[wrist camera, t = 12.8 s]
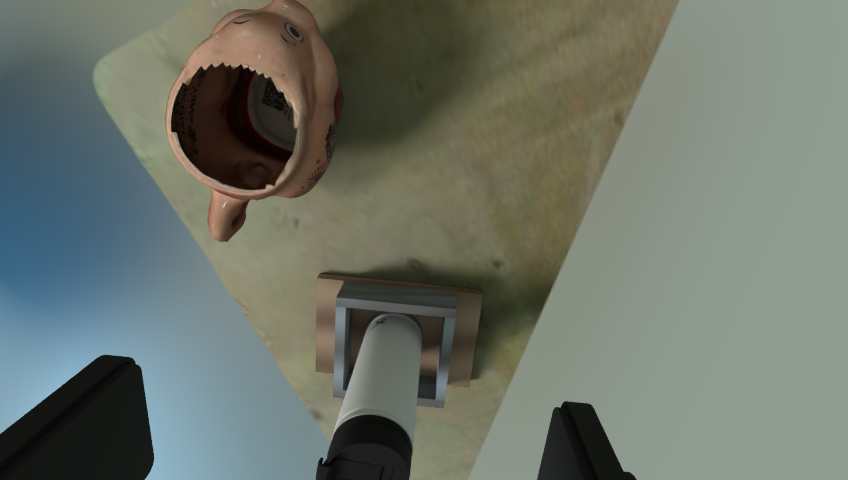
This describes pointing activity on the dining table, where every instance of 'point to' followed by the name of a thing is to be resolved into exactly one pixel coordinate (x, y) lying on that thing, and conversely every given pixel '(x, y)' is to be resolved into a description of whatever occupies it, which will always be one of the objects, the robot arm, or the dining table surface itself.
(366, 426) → the travel mug
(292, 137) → the pink sculpted mug
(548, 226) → the dining table surface
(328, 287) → the jig cradle
